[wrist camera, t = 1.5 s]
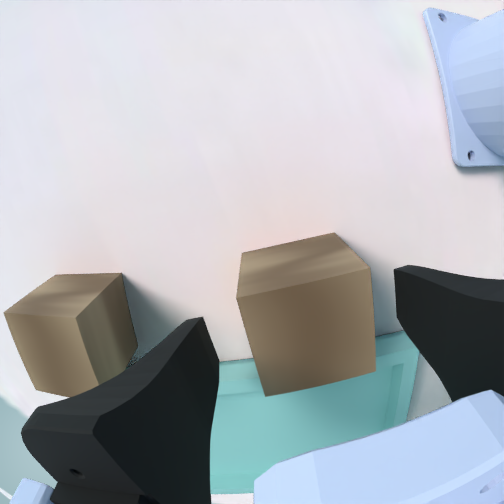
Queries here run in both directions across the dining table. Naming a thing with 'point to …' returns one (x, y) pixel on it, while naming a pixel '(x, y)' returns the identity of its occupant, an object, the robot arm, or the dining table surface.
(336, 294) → the block
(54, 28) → the dining table surface
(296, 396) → the tray
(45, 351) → the block
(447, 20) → the robot arm
